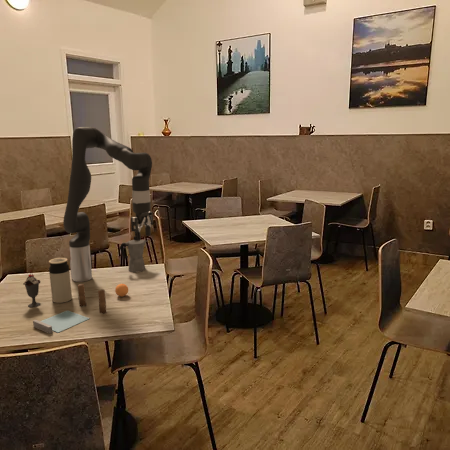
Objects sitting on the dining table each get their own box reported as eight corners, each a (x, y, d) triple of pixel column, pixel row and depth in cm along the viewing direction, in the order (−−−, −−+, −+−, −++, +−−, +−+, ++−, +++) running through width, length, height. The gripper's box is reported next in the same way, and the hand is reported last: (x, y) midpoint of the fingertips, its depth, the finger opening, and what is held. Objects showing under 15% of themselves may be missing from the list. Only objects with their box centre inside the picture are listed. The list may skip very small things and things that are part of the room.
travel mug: (65, 304, 178) (61, 263, 174) (48, 302, 179) (44, 262, 176) (75, 296, 185) (71, 257, 182) (59, 295, 187) (55, 257, 183)
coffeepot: (143, 264, 230) (142, 232, 226) (152, 269, 222) (150, 236, 219) (117, 270, 220) (115, 237, 216) (125, 275, 213) (123, 241, 209)
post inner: (78, 305, 176) (76, 285, 174) (83, 303, 178) (81, 283, 176) (82, 306, 175) (80, 286, 173) (87, 304, 177) (85, 284, 175)
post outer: (98, 312, 169) (96, 291, 167) (103, 310, 171) (101, 289, 169) (102, 313, 168) (100, 292, 166) (107, 311, 170) (106, 290, 168)
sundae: (37, 300, 182) (34, 267, 178) (45, 304, 178) (42, 270, 174) (22, 305, 177) (18, 271, 174) (30, 309, 173) (26, 274, 169)
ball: (113, 296, 185) (112, 284, 184) (122, 292, 190) (121, 281, 188) (121, 299, 182) (120, 287, 181) (131, 295, 186) (130, 283, 185)
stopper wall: (33, 326, 157) (32, 320, 156) (36, 325, 158) (35, 319, 157) (49, 333, 151) (48, 327, 151) (52, 332, 152) (51, 326, 152)
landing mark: (35, 323, 160) (35, 323, 160) (67, 310, 171) (67, 310, 171) (58, 332, 152) (58, 332, 152) (89, 318, 163) (89, 318, 163)
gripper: (142, 197, 185) (143, 233, 188) (124, 203, 171) (126, 241, 175) (157, 198, 182) (158, 234, 186) (140, 204, 169) (142, 242, 173)
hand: (143, 238), depth 180 cm, fingers open, 8 cm apart
